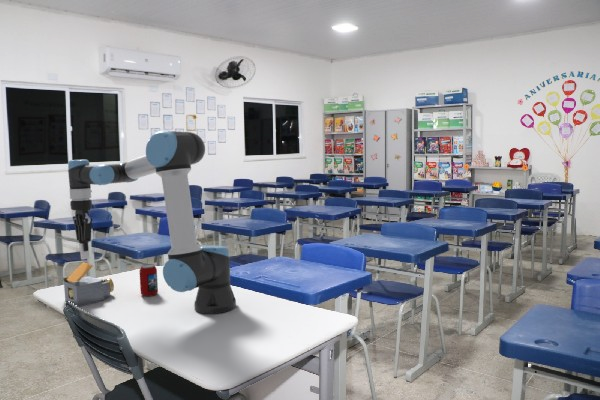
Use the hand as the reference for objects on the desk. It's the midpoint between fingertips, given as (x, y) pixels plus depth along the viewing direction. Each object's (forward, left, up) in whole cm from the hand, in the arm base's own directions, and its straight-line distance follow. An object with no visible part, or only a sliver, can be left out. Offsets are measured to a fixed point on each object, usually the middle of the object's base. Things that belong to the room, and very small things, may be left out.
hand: (85, 258), depth 192 cm
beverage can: (-13, -20, -17) cm, 29 cm away
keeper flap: (0, +2, -5) cm, 6 cm away
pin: (0, -2, -16) cm, 16 cm away
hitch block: (0, -1, -17) cm, 17 cm away
